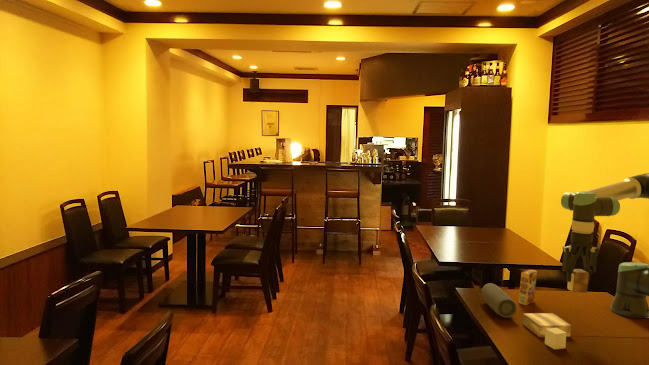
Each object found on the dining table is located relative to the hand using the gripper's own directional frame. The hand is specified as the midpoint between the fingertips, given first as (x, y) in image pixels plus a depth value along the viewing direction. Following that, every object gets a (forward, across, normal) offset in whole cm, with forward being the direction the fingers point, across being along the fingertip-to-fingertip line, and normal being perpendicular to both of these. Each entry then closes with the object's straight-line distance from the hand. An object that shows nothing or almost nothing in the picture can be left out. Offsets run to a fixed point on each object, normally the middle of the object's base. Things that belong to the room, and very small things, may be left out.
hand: (577, 289), depth 190 cm
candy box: (+19, 0, -39) cm, 43 cm away
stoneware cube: (+19, +12, +9) cm, 25 cm away
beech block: (+20, +8, -6) cm, 22 cm away
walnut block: (0, 0, 0) cm, 0 cm away
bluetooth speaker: (+19, +19, -27) cm, 39 cm away
